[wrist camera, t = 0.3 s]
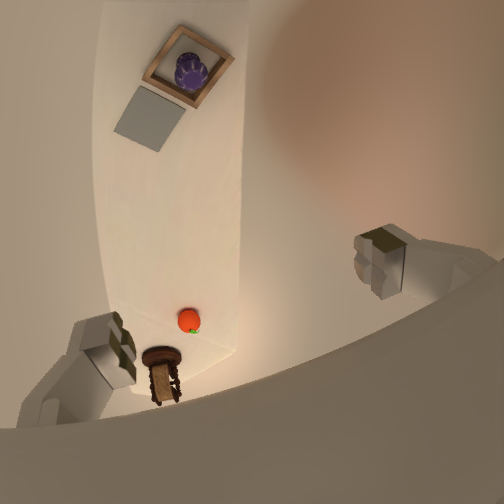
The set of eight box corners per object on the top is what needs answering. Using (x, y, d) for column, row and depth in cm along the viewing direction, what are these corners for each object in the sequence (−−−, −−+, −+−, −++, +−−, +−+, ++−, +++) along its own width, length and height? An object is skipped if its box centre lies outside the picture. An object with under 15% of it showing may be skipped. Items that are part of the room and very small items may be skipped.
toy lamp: (188, 80, 48) (196, 102, 36) (167, 67, 45) (167, 84, 33) (205, 60, 46) (219, 74, 34) (184, 46, 43) (191, 55, 31)
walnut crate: (179, 25, 40) (180, 24, 36) (229, 55, 46) (235, 58, 43) (143, 75, 45) (141, 79, 41) (194, 102, 51) (196, 109, 47)
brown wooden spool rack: (171, 340, 100) (179, 393, 86) (186, 358, 111) (194, 405, 97) (134, 350, 100) (138, 401, 86) (152, 366, 110) (157, 413, 96)
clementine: (205, 312, 94) (209, 331, 89) (189, 322, 96) (192, 341, 91) (188, 302, 89) (191, 322, 84) (171, 313, 90) (174, 332, 85)
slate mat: (140, 85, 46) (139, 86, 45) (185, 109, 51) (185, 110, 51) (114, 130, 50) (113, 131, 50) (158, 151, 56) (158, 152, 55)
